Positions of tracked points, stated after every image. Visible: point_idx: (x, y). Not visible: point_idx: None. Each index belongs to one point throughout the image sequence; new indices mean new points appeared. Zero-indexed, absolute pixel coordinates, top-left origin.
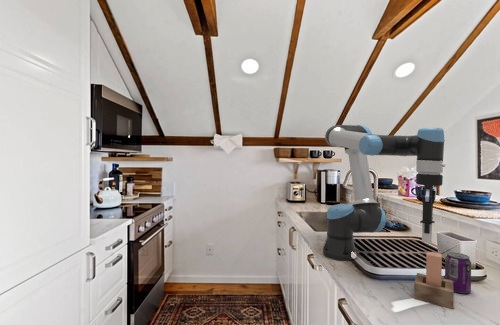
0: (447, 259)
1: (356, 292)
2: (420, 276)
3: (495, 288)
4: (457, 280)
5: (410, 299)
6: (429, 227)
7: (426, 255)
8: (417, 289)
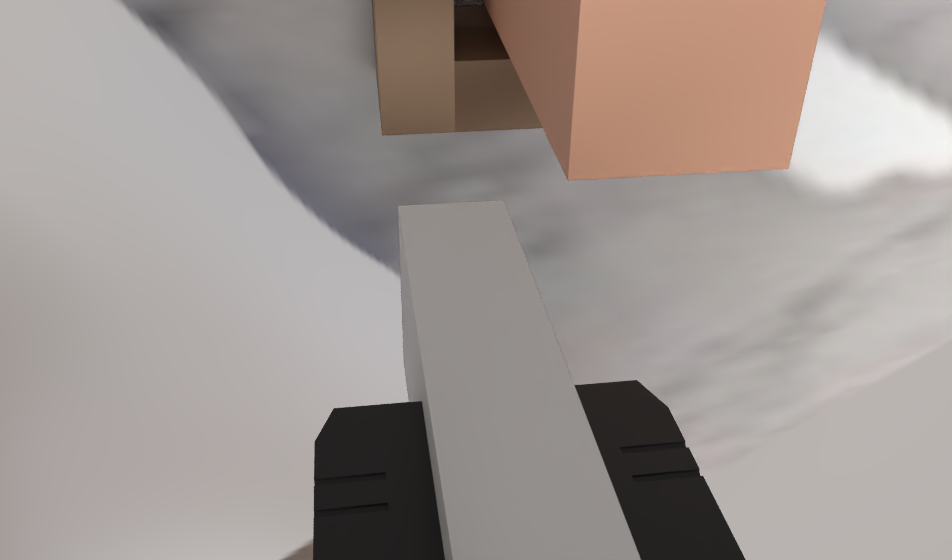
0: None
1: (789, 401)
2: (484, 89)
3: None
4: None
5: None
6: (680, 523)
7: (784, 161)
8: None
